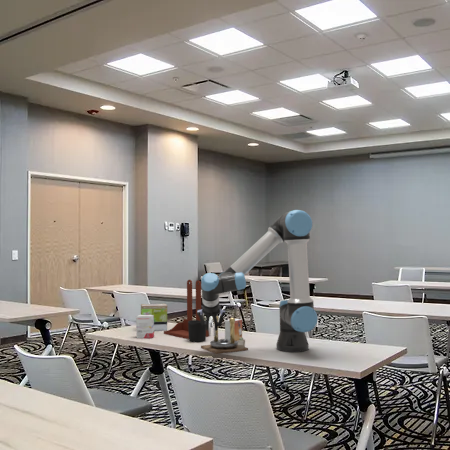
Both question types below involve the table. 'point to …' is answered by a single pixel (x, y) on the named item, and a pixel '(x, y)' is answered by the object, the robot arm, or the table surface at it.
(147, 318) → the ink box
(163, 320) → the tea box
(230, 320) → the brass post metal stand
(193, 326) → the pen holder
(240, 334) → the small box
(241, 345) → the stand
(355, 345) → the table surface
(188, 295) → the dustpan and brush
